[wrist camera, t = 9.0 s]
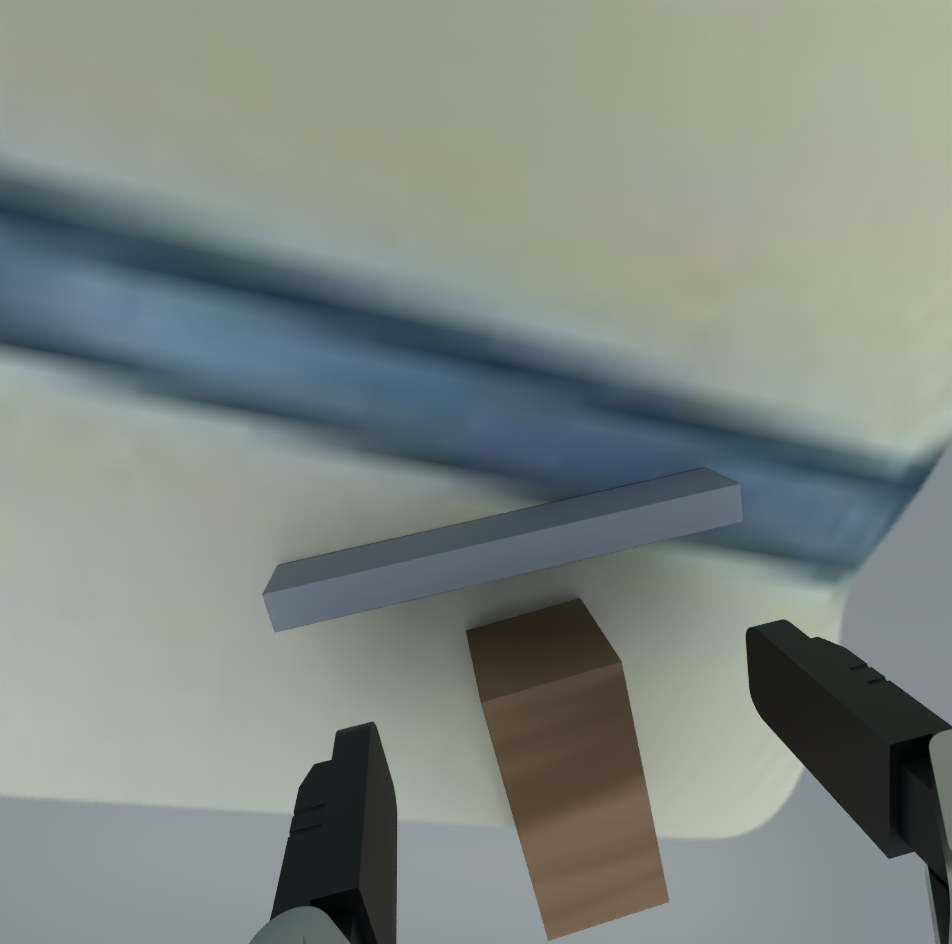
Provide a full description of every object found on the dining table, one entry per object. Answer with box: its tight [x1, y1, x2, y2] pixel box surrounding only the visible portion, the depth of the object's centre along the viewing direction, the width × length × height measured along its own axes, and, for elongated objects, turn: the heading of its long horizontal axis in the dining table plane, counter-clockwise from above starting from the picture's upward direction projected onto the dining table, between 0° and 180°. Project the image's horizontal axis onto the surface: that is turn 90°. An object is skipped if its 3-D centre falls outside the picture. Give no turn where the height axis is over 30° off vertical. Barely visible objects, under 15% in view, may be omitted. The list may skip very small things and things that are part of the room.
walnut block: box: [466, 599, 669, 940], centre depth 19 cm, size 4×4×9 cm
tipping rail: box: [262, 468, 743, 632], centre depth 17 cm, size 1×14×2 cm, turn 101°
